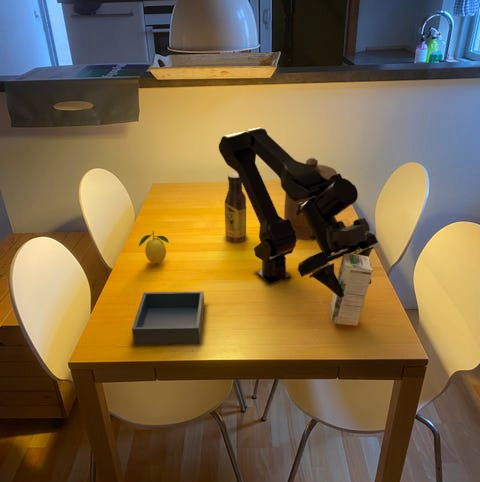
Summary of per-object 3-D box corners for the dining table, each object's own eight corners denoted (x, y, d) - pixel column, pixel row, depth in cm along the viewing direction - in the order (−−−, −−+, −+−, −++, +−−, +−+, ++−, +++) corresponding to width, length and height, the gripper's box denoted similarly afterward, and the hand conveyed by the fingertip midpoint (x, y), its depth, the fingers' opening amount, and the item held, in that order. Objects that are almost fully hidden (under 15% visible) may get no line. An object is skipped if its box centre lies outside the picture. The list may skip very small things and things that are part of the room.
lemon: (142, 268, 128) (136, 235, 123) (148, 257, 133) (143, 225, 127) (166, 269, 127) (161, 236, 122) (171, 258, 132) (167, 226, 127)
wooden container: (327, 242, 138) (334, 169, 126) (278, 236, 142) (280, 164, 130) (335, 221, 150) (341, 152, 138) (290, 216, 154) (292, 149, 142)
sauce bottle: (222, 236, 143) (219, 172, 133) (241, 232, 145) (239, 169, 135) (230, 245, 138) (228, 179, 127) (250, 240, 140) (249, 176, 129)
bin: (134, 344, 101) (131, 329, 98) (145, 307, 112) (143, 292, 110) (200, 343, 100) (198, 328, 98) (204, 306, 112) (203, 291, 110)
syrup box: (329, 308, 107) (341, 252, 99) (355, 311, 107) (369, 255, 99) (331, 323, 102) (344, 266, 94) (358, 326, 102) (374, 269, 94)
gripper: (311, 220, 89) (347, 295, 88) (377, 197, 98) (412, 264, 97) (282, 242, 99) (315, 309, 97) (345, 219, 108) (376, 280, 106)
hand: (356, 290), depth 99 cm, fingers closed on syrup box, 8 cm apart
